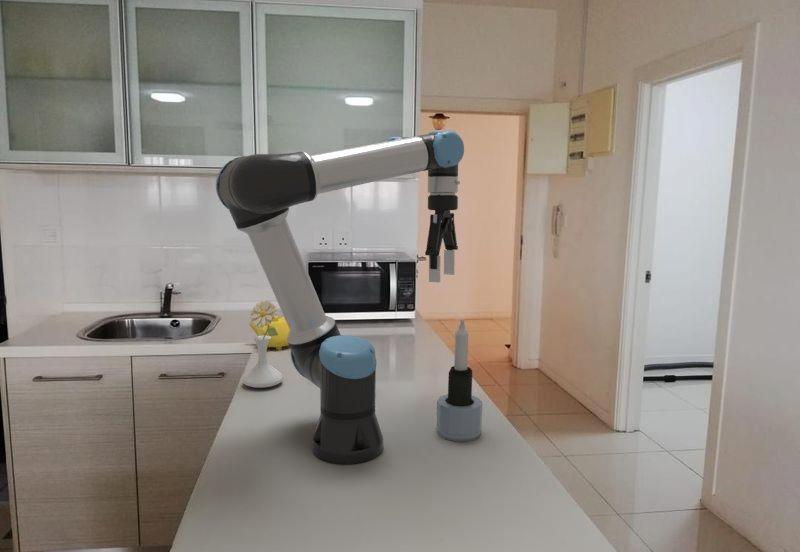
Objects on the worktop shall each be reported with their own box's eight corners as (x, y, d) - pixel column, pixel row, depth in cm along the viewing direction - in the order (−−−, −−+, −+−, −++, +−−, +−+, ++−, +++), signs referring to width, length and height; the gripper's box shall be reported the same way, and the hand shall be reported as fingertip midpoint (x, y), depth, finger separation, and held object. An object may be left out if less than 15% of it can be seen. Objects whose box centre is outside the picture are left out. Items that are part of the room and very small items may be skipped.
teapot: (237, 351, 195) (236, 319, 194) (261, 338, 212) (261, 309, 211) (290, 355, 191) (290, 323, 189) (311, 342, 208) (311, 313, 206)
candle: (468, 430, 127) (472, 321, 123) (446, 427, 128) (449, 320, 124) (471, 421, 132) (474, 317, 128) (449, 419, 133) (452, 315, 129)
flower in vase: (234, 384, 161) (232, 298, 157) (269, 375, 169) (268, 293, 165) (258, 395, 152) (256, 305, 148) (294, 386, 160) (293, 299, 156)
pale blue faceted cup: (476, 444, 124) (477, 411, 123) (432, 437, 127) (433, 406, 126) (483, 426, 133) (484, 396, 132) (442, 421, 136) (443, 391, 135)
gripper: (443, 194, 128) (443, 286, 131) (468, 194, 151) (467, 272, 154) (412, 194, 131) (412, 284, 134) (441, 194, 154) (441, 270, 157)
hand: (442, 278), depth 144 cm, fingers open, 13 cm apart
